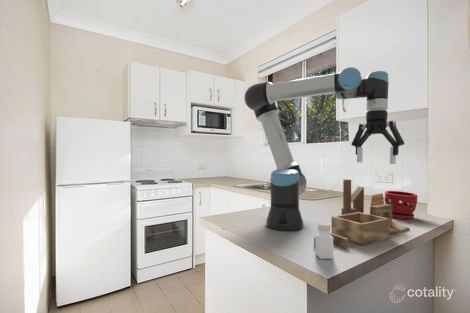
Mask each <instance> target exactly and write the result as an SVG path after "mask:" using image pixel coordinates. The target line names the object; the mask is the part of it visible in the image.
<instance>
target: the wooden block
mask: <svg viewBox="0 0 470 313" xmlns="http://www.w3.org/2000/svg"><path fill="white" fill-rule="evenodd" d="M342 181H343V182H342V183H343V184H342V188H343V189H342V194H343V196H342V199H343V200H342V203H343V204H342V206H343V207H342V208H341V215H344V214H350V213H356V212H361V213H365V212H364V211H365V206H364V205H365V187H364V186H357V187H356V189H355V190H354V191H353V192H352V180H351V179H343V180H342Z"/></svg>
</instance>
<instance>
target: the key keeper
mask: <svg viewBox="0 0 470 313" xmlns="http://www.w3.org/2000/svg"><path fill="white" fill-rule="evenodd" d="M330 235H331V236H332V237H333V245H334V246H338V247H340V248H343V249H346V250H347V249H349V241H348V238H345V237H342V236H339V235H336V234H333V233H332V232H331V233H330ZM313 247H314V248H315V236H314V237H313Z"/></svg>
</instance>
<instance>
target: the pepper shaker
mask: <svg viewBox="0 0 470 313" xmlns="http://www.w3.org/2000/svg"><path fill="white" fill-rule="evenodd" d="M317 226H318V229H317V230H318V233H316V234H315V235H314V237H315V247H314V248H315V252H314V254H315V255H316V256H317V257H318V258H319V259H320V260H331V259H333V258H334V244H333V237H332V236H331V235H330V234H331V224H330V223H328V222H319V223H318V225H317Z"/></svg>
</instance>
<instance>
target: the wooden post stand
mask: <svg viewBox="0 0 470 313" xmlns="http://www.w3.org/2000/svg"><path fill="white" fill-rule="evenodd" d="M369 208H370V209H369V214H370V215H375V216H379V217H380V214H381V213H383V217H384V218H389V219H390V237H391V236H394V235H397V234H401V233H405V232H408V231H410V230H411V229H410V227H408V226H402V225H398V224H393V217H392V205H391V204H385V203H384V204H382V205H376V206H371V205H370V207H369Z"/></svg>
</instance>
